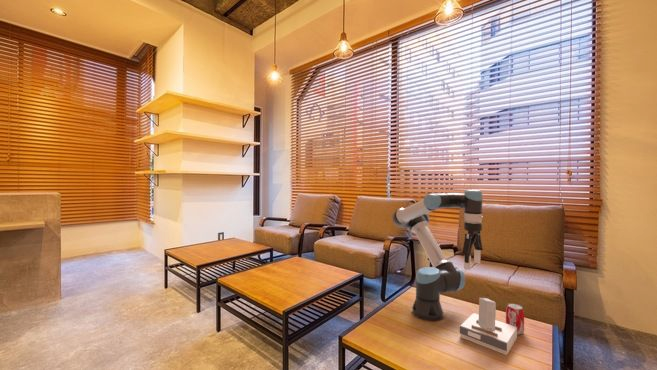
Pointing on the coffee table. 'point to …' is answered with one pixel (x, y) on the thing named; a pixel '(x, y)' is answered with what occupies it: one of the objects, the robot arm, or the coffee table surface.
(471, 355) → the coffee table surface
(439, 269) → the robot arm
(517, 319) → the soda can
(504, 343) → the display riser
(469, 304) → the coffee table surface
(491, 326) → the skincare box
